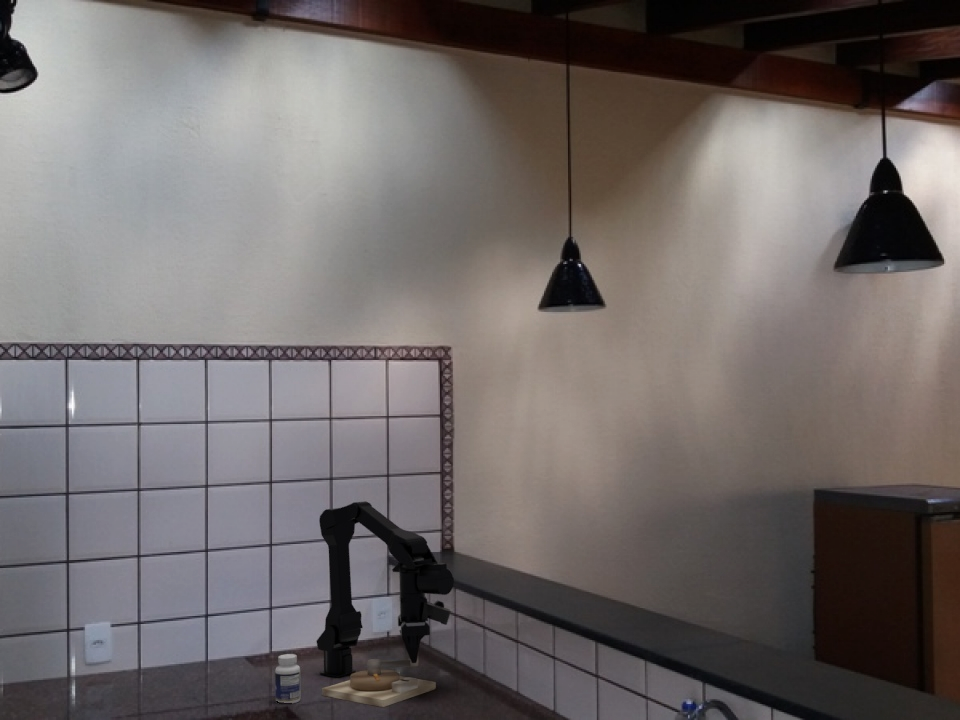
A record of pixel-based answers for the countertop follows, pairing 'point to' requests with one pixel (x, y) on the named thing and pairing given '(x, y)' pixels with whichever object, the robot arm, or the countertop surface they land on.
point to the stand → (380, 691)
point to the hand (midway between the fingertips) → (414, 662)
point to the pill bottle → (287, 679)
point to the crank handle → (379, 674)
